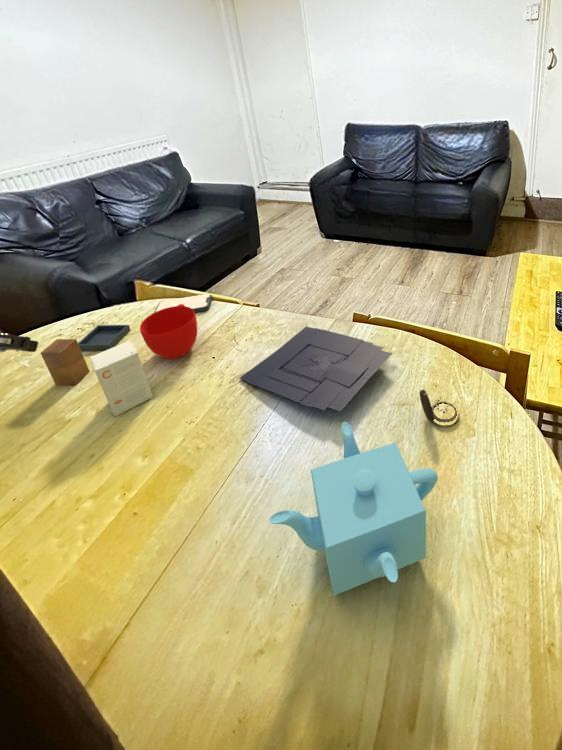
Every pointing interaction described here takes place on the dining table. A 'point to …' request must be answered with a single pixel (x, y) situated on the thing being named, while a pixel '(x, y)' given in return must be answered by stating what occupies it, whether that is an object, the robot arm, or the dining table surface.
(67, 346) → the pad block
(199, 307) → the phone case
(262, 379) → the dark grey flat slab
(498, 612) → the dining table surface
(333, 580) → the teakettle
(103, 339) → the cradle
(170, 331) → the ceramic cup
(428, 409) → the compass
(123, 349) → the small box
